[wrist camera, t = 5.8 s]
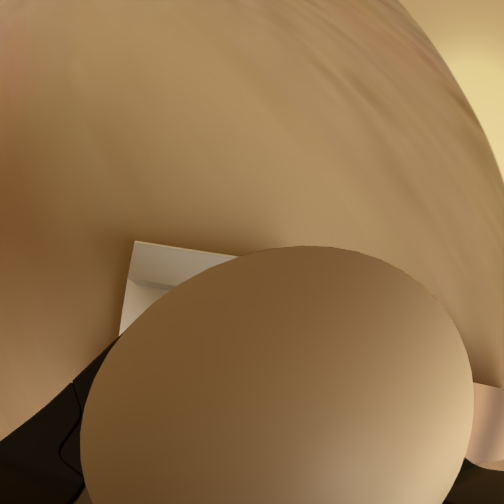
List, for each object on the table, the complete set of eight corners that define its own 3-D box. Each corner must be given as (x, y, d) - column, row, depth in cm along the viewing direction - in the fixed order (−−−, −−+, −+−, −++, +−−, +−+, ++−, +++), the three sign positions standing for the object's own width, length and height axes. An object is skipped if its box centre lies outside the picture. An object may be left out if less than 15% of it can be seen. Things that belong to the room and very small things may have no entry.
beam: (503, 394, 18) (545, 396, 13) (487, 446, 17) (527, 454, 12) (374, 364, 17) (427, 371, 12) (347, 440, 15) (393, 468, 11)
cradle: (297, 443, 15) (317, 463, 12) (117, 424, 13) (100, 443, 10) (315, 273, 18) (339, 261, 14) (139, 246, 16) (126, 228, 13)
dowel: (273, 338, 15) (504, 337, 3) (238, 410, 13) (367, 599, 2) (199, 301, 15) (209, 166, 3) (162, 375, 13) (41, 527, 1)
